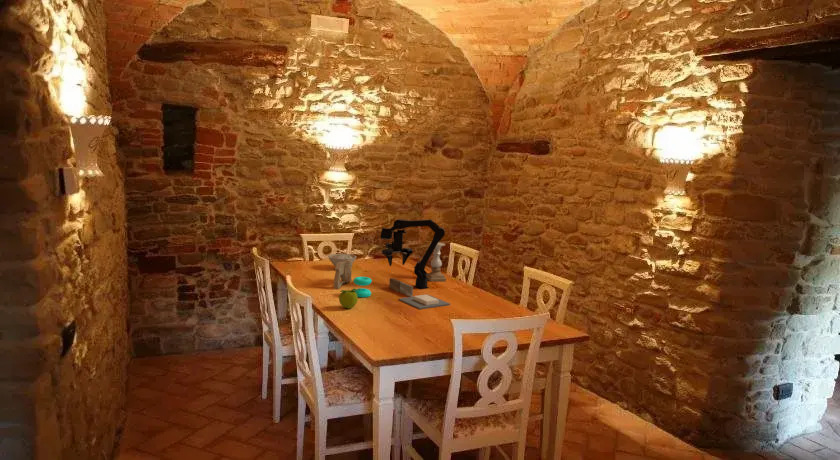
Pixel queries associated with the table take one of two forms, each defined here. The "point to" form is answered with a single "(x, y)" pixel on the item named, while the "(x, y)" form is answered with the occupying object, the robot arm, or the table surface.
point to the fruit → (348, 298)
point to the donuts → (363, 282)
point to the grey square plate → (420, 305)
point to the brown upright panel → (401, 287)
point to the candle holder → (436, 265)
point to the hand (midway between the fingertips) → (396, 265)
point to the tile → (426, 299)
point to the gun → (342, 273)
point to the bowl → (341, 258)
